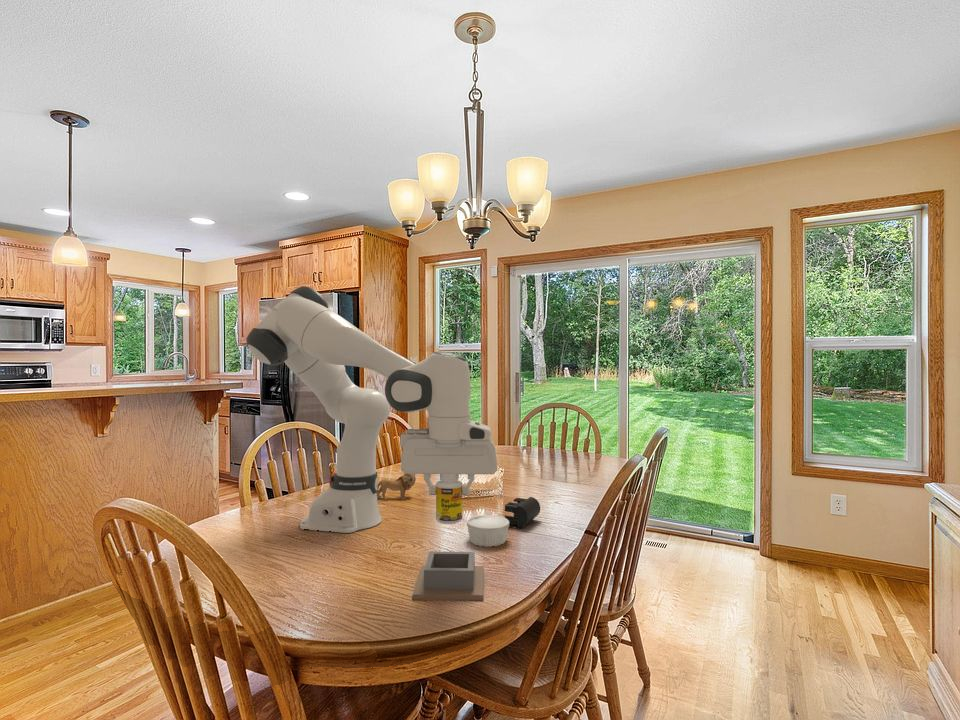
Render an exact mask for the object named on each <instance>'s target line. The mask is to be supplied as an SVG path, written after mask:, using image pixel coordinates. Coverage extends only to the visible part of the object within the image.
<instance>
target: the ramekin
mask: <svg viewBox="0 0 960 720" xmlns="http://www.w3.org/2000/svg"><path fill="white" fill-rule="evenodd" d="M466 526H467V530H468V536H469V537H468V538H469V541H470V542H471V543H472V544H473V545H475V544H476V545H475V546H477V545H479V546H478V547H482V546H484V548H491V547H492V546H495V547H498V545H499V546H501V544H502V545H503V544H505V542H506V541H507V538H508V531H509V528H510V527H509V520H508V519H506V518H505V516H501V515H492V514H491V515H490V514H484V515H476V516H472V517H469V518H468V519H467V520H466Z"/></svg>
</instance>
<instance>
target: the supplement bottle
mask: <svg viewBox="0 0 960 720" xmlns="http://www.w3.org/2000/svg"><path fill="white" fill-rule="evenodd" d="M459 475H460V474H439V480H438V481H437V482H436V483H435V485H436V495H435V520H436V522H438V523H439V524H442V525H443V524H445V525H453V524H454V525H455V524H458V523H461V522H462V521H463V495H462V486H463V481H461V480H459V478H460V477H459Z"/></svg>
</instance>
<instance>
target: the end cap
mask: <svg viewBox="0 0 960 720" xmlns="http://www.w3.org/2000/svg"><path fill="white" fill-rule="evenodd" d="M504 512H507V513H513V516H511V515H504V518H506V519H508V520H509V526H510V527H509V528H512V527H516V528H515V529H518V528H519V529H521V528H523V527H524V526H526V525H527V524H529V523H530V522H531V521H533V520H534V519H535V518H536V517H538V516H539V514H540V512H541V504H540V502H539V501H538V500H537V498H535V497H533V496H530V497H528V498H523V497H516V498H514V499H513V502H509V501H508V502H507V503H506V504H505V505H504Z"/></svg>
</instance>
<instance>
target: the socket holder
mask: <svg viewBox="0 0 960 720" xmlns="http://www.w3.org/2000/svg"><path fill="white" fill-rule="evenodd" d="M475 556H476V555H475V551H429V552H428V555H427V558H426V561H425V564H424V565H421V566H420V569H419V573H418V575H417V579H416V581H415V585H414V587H413V588H414V589H413V591H412V595H411V596H412V600H414V601H417V600H418V601H423V600H424V601H425V600H427V601H429V600H431V601H484V584H485V583H484V580H485V579H484V577H485V576H484V575H485V573H484V572H485V571H484V570H485V567H484V566H483V565H482V566H480V565H479V566H478V565H477V566H476V565H475V561H476V560H475V558H476V557H475Z"/></svg>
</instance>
